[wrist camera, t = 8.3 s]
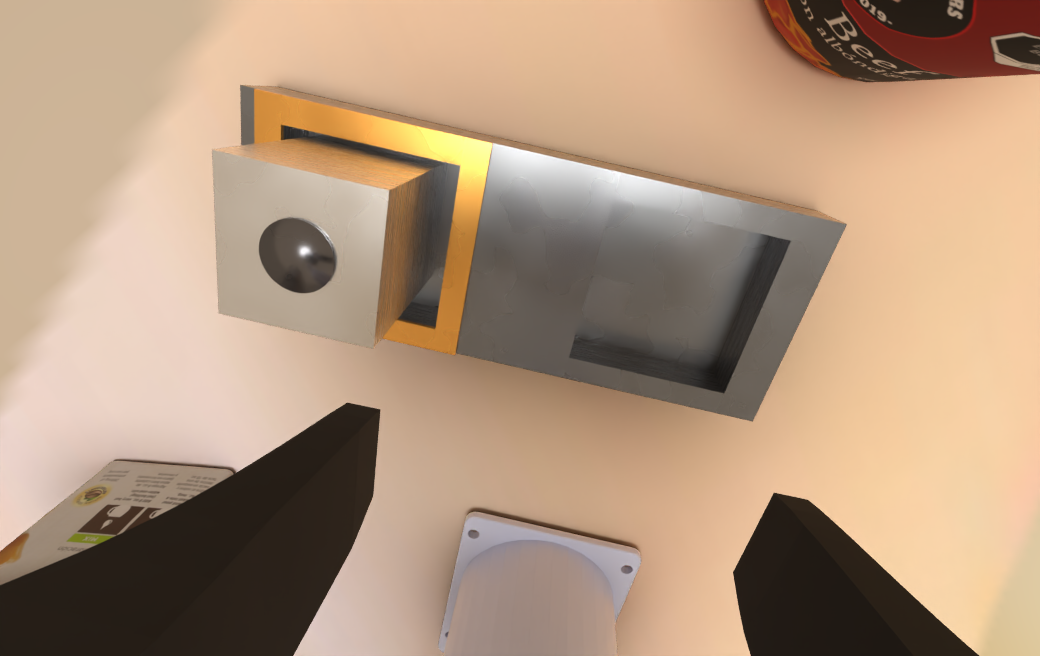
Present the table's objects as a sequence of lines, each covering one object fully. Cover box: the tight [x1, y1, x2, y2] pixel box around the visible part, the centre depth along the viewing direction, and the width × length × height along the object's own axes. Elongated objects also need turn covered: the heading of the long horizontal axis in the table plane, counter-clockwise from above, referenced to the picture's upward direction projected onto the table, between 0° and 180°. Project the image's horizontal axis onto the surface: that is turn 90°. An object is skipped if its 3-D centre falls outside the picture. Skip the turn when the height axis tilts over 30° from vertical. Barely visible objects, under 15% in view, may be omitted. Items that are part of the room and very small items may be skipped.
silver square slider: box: [212, 134, 449, 349], centre depth 15 cm, size 4×4×6 cm
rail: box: [240, 85, 847, 421], centre depth 17 cm, size 7×18×2 cm, turn 78°
